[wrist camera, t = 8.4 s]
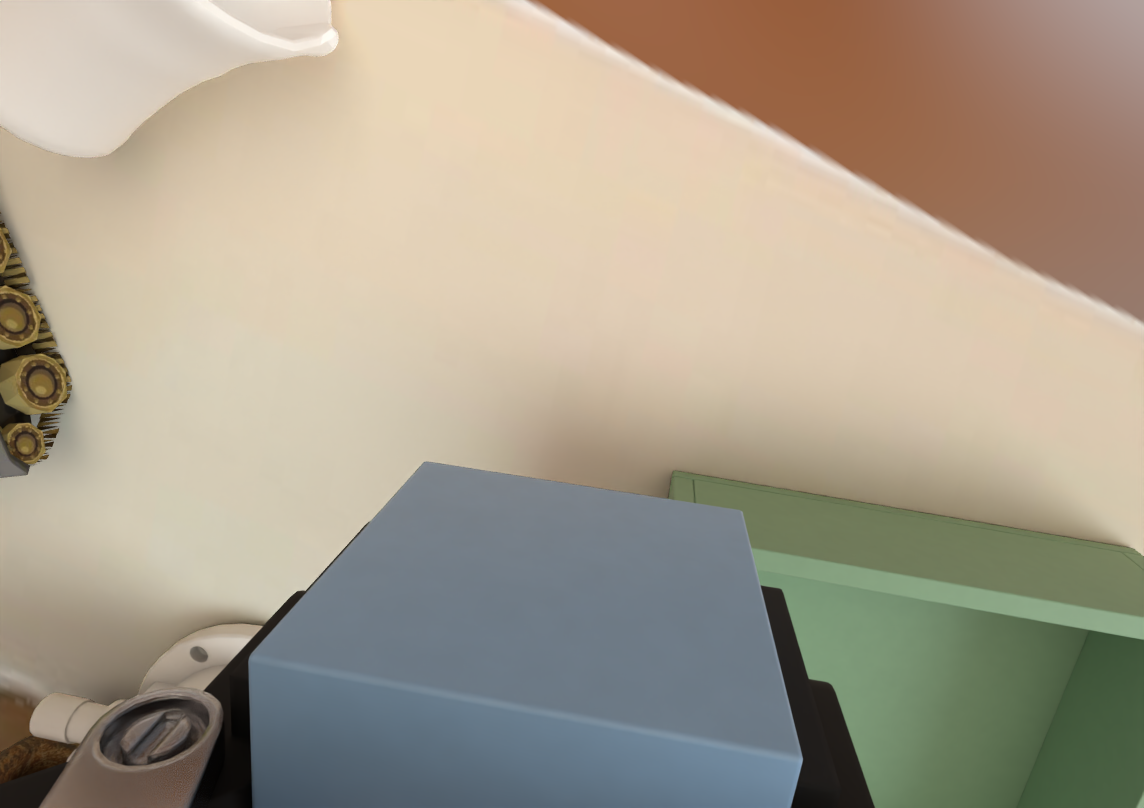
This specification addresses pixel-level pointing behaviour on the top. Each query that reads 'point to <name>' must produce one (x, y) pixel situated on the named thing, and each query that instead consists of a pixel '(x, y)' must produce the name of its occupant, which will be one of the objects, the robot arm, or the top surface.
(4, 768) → the brown hollow cylinder
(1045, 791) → the toy bin
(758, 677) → the blue block
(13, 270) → the toy tank
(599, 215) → the top surface
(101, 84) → the cup
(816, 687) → the robot arm
